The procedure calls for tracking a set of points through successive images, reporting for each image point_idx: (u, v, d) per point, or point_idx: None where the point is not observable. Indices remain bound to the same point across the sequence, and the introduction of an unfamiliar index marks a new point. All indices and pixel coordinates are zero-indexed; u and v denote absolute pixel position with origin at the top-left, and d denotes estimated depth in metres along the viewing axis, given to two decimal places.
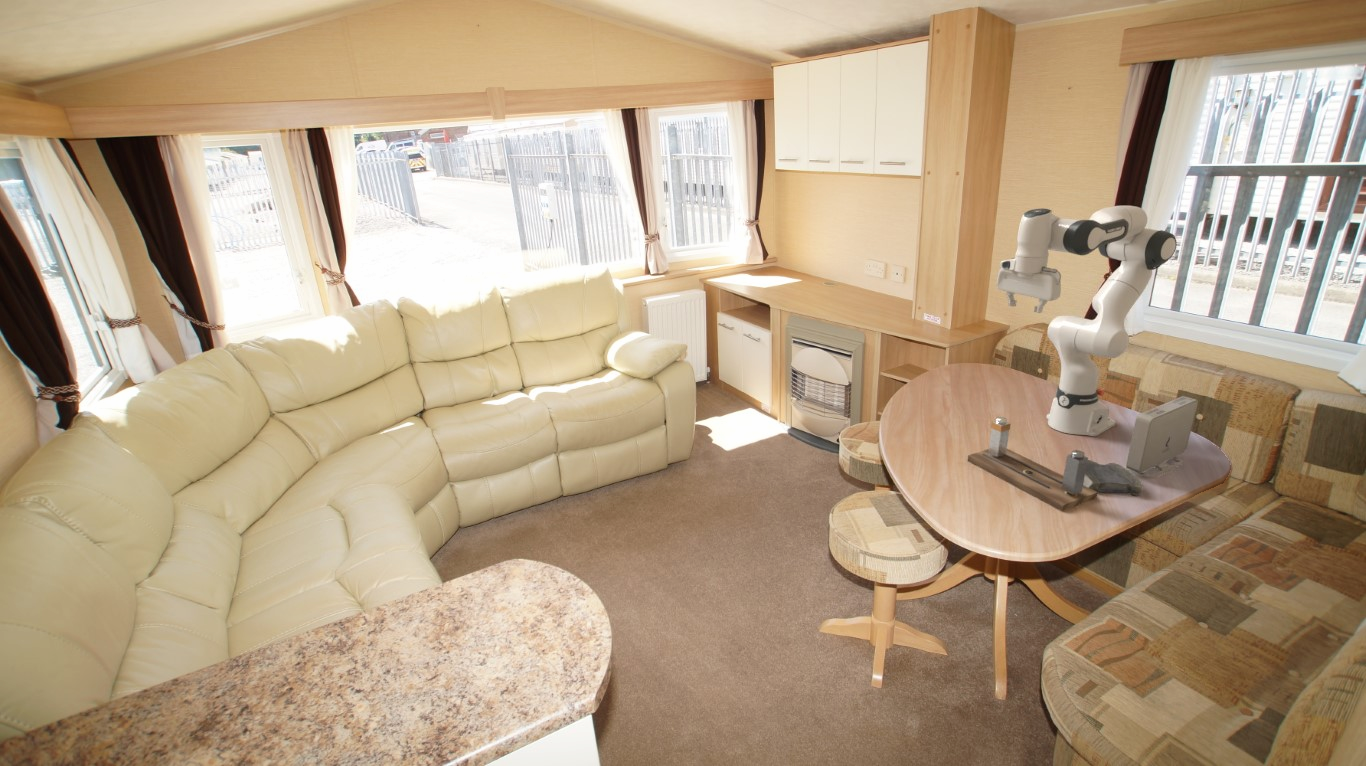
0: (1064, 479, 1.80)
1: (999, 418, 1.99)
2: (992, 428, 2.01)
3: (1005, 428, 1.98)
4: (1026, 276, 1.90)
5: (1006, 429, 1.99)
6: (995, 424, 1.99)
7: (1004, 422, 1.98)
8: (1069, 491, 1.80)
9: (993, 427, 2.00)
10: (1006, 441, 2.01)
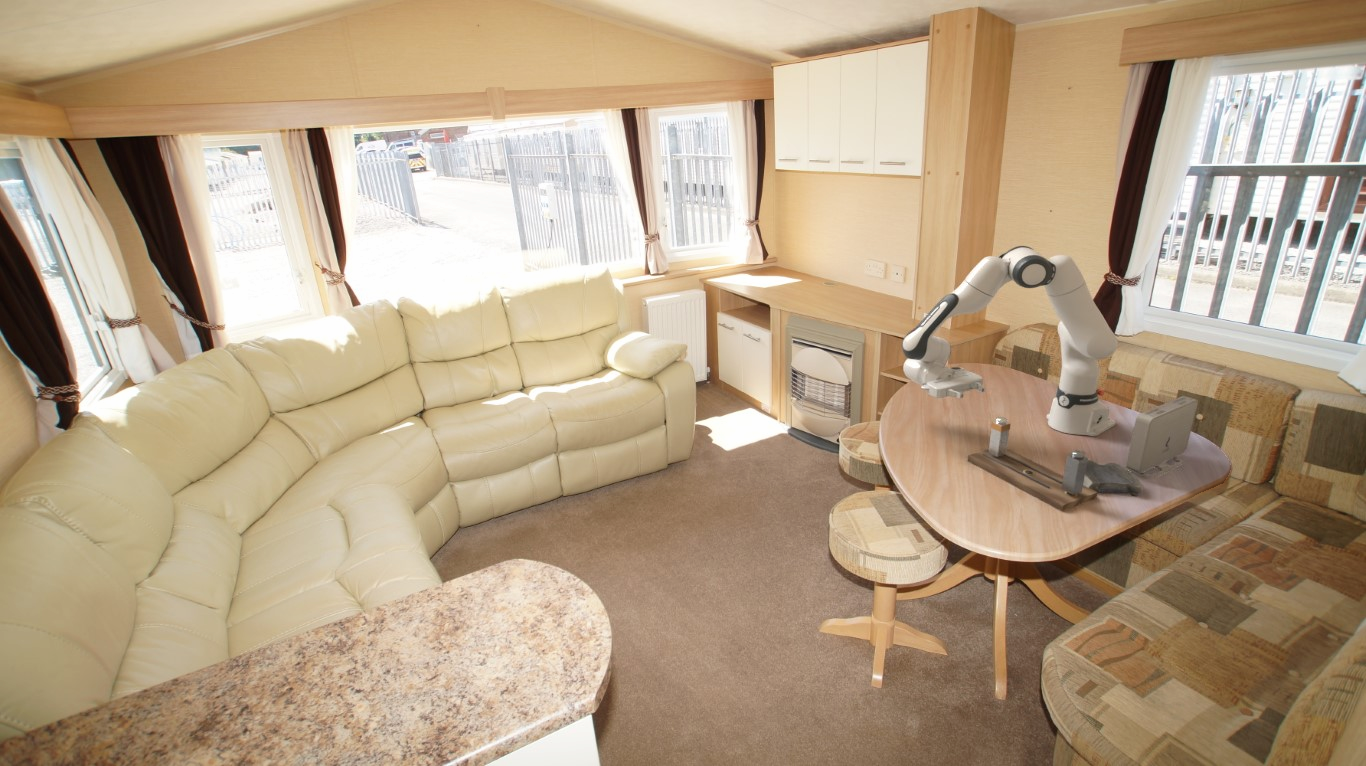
0: (1064, 479, 1.80)
1: (999, 418, 1.99)
2: (992, 428, 2.01)
3: (1005, 428, 1.98)
4: None
5: (1006, 429, 1.99)
6: (995, 424, 1.99)
7: (1004, 422, 1.98)
8: (1069, 491, 1.80)
9: (993, 427, 2.00)
10: (1006, 441, 2.01)
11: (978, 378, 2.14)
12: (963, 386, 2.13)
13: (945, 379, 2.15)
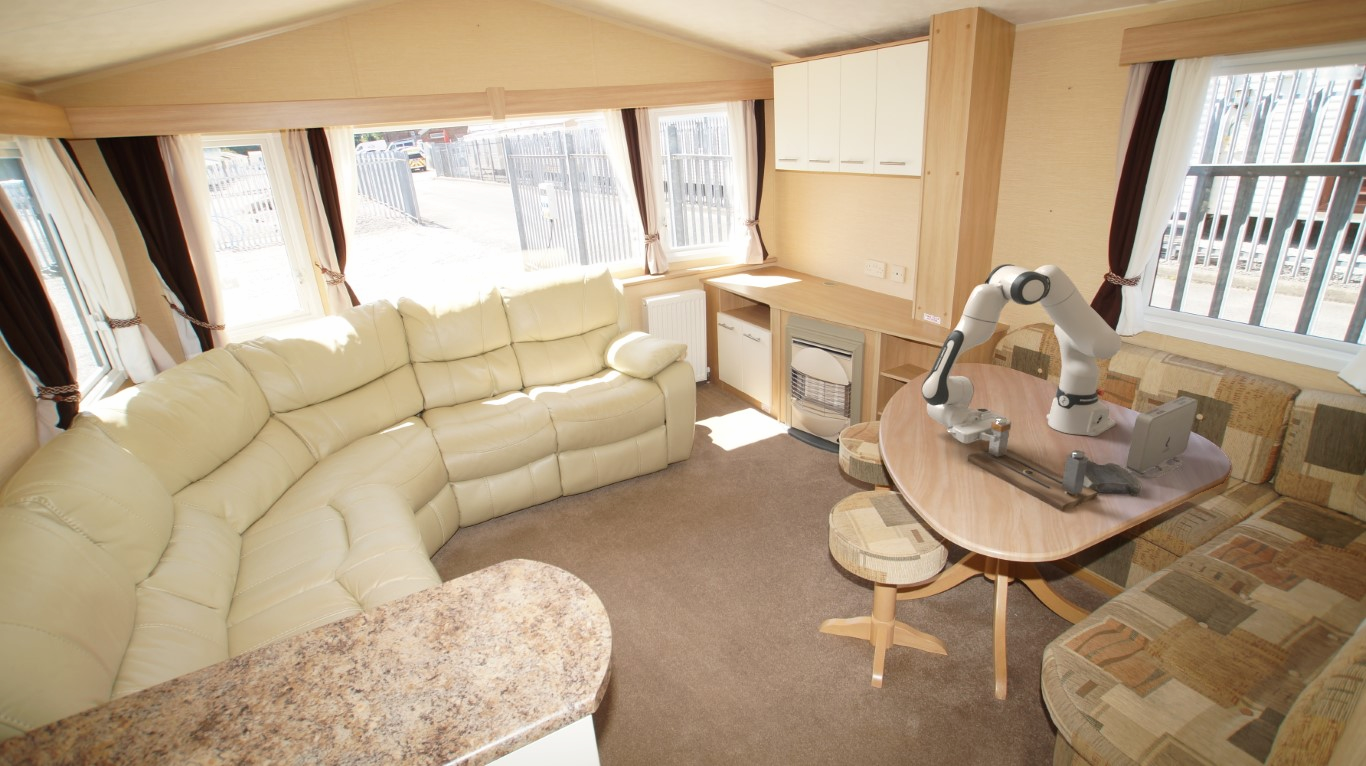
0: (1064, 479, 1.80)
1: (999, 418, 1.99)
2: (992, 428, 2.01)
3: (1005, 428, 1.98)
4: None
5: (1006, 429, 1.99)
6: (995, 424, 1.99)
7: (1004, 422, 1.98)
8: (1069, 491, 1.80)
9: (993, 427, 2.00)
10: (1006, 441, 2.01)
11: None
12: None
13: (972, 422, 2.08)
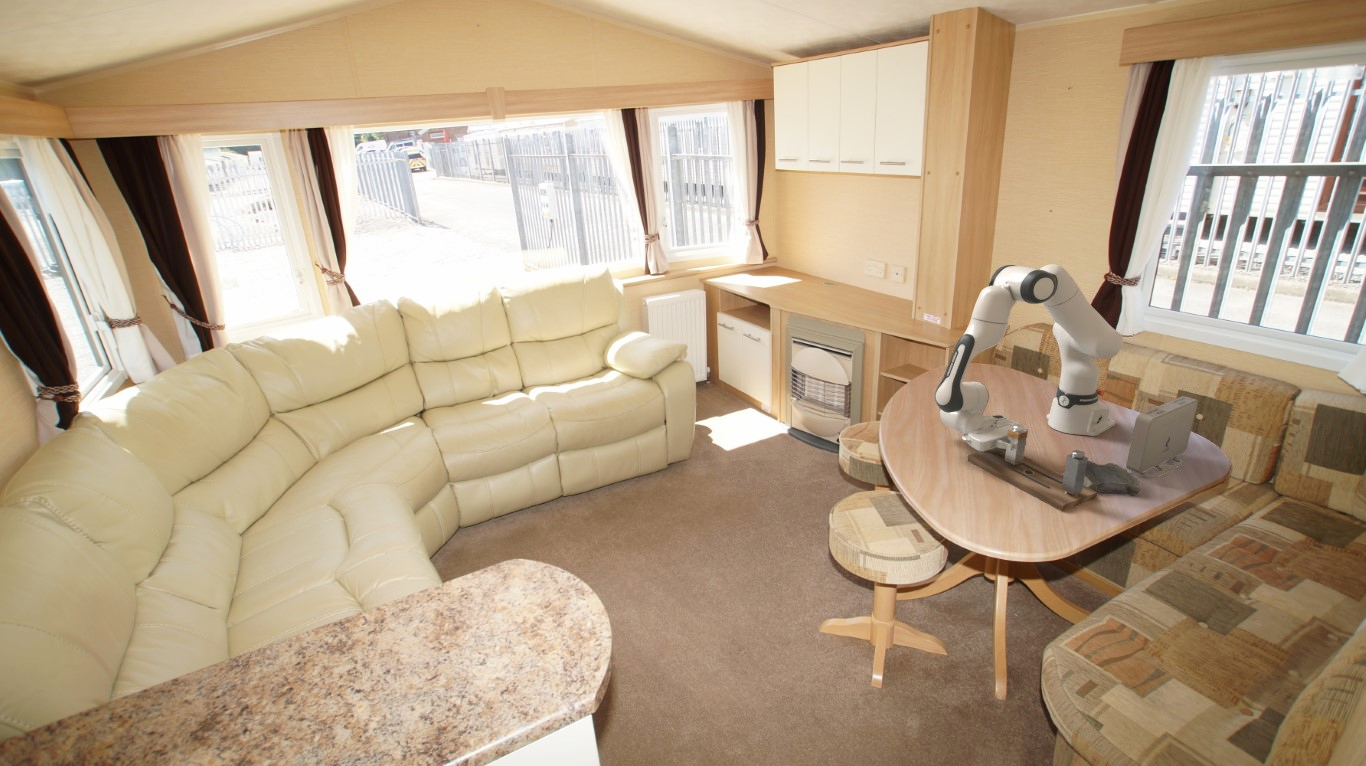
0: (1064, 479, 1.80)
1: (1016, 425, 1.94)
2: (1009, 436, 1.95)
3: (1022, 436, 1.93)
4: None
5: (1024, 437, 1.93)
6: (1012, 432, 1.94)
7: (1021, 430, 1.93)
8: (1069, 491, 1.80)
9: (1010, 435, 1.95)
10: (1023, 449, 1.95)
11: None
12: (1007, 437, 2.00)
13: (987, 429, 2.03)
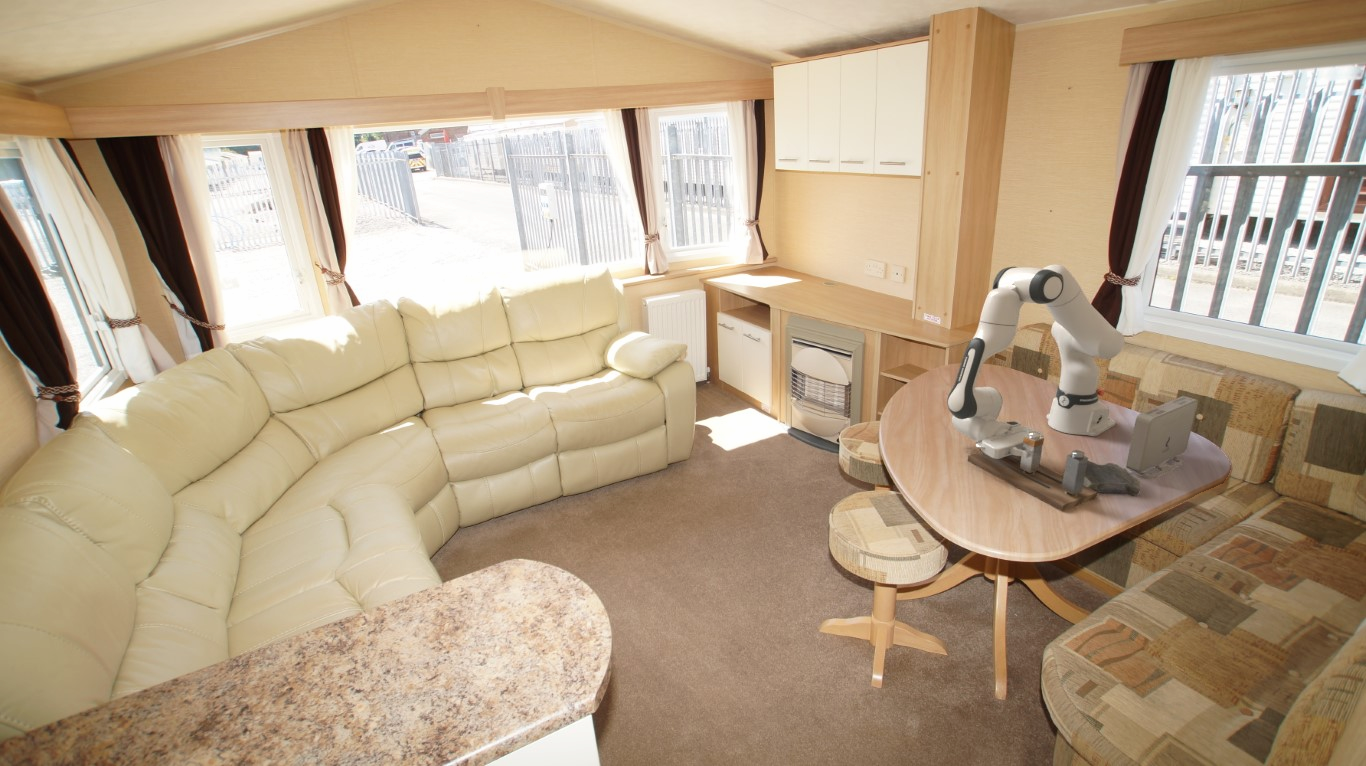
0: (1064, 479, 1.80)
1: (1032, 432, 1.89)
2: (1024, 443, 1.91)
3: (1038, 443, 1.88)
4: None
5: (1040, 444, 1.89)
6: (1028, 439, 1.89)
7: (1037, 437, 1.88)
8: (1069, 491, 1.80)
9: (1025, 442, 1.90)
10: (1039, 456, 1.90)
11: None
12: (1022, 444, 1.95)
13: (1002, 436, 1.98)
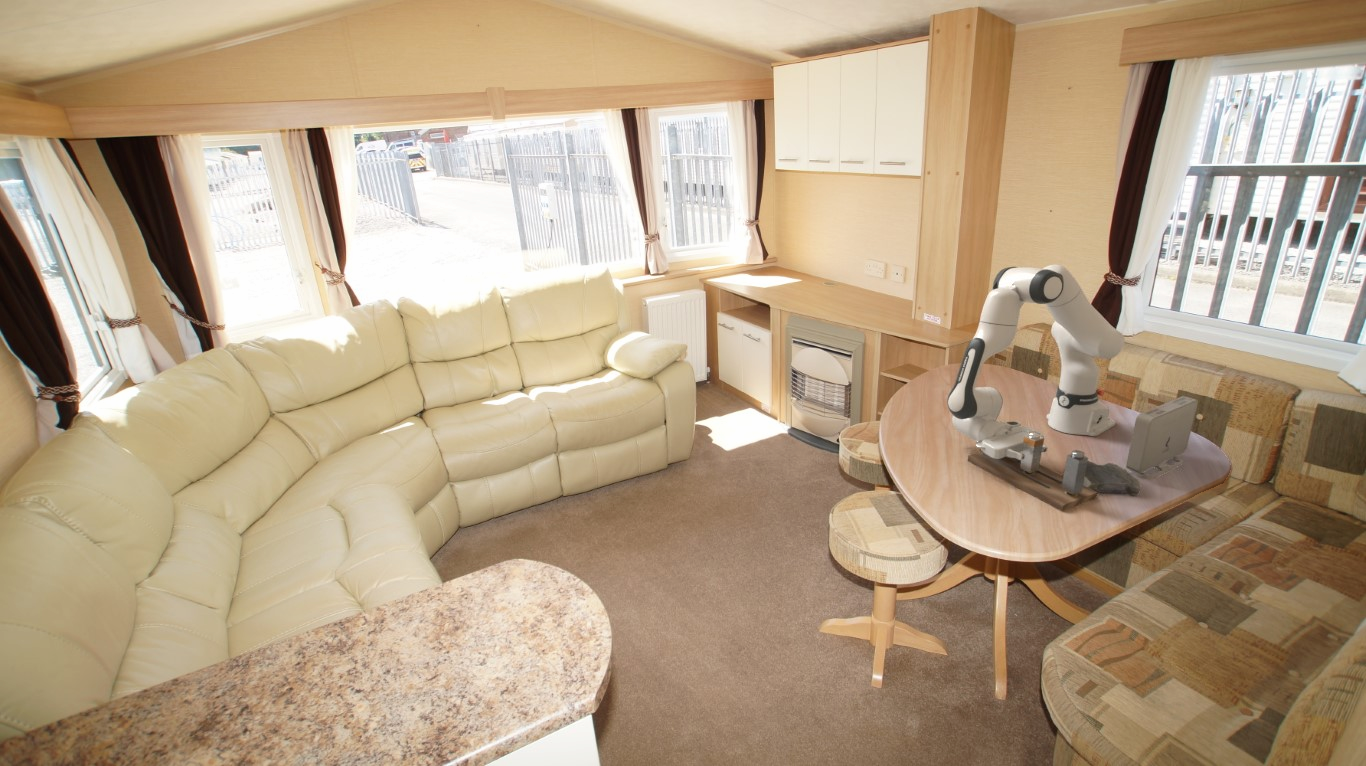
0: (1064, 479, 1.80)
1: (1032, 432, 1.89)
2: (1024, 443, 1.91)
3: (1038, 443, 1.88)
4: None
5: (1040, 444, 1.88)
6: (1028, 439, 1.89)
7: (1037, 437, 1.88)
8: (1069, 491, 1.80)
9: (1025, 442, 1.90)
10: (1039, 457, 1.90)
11: None
12: (1022, 444, 1.95)
13: (1002, 436, 1.98)
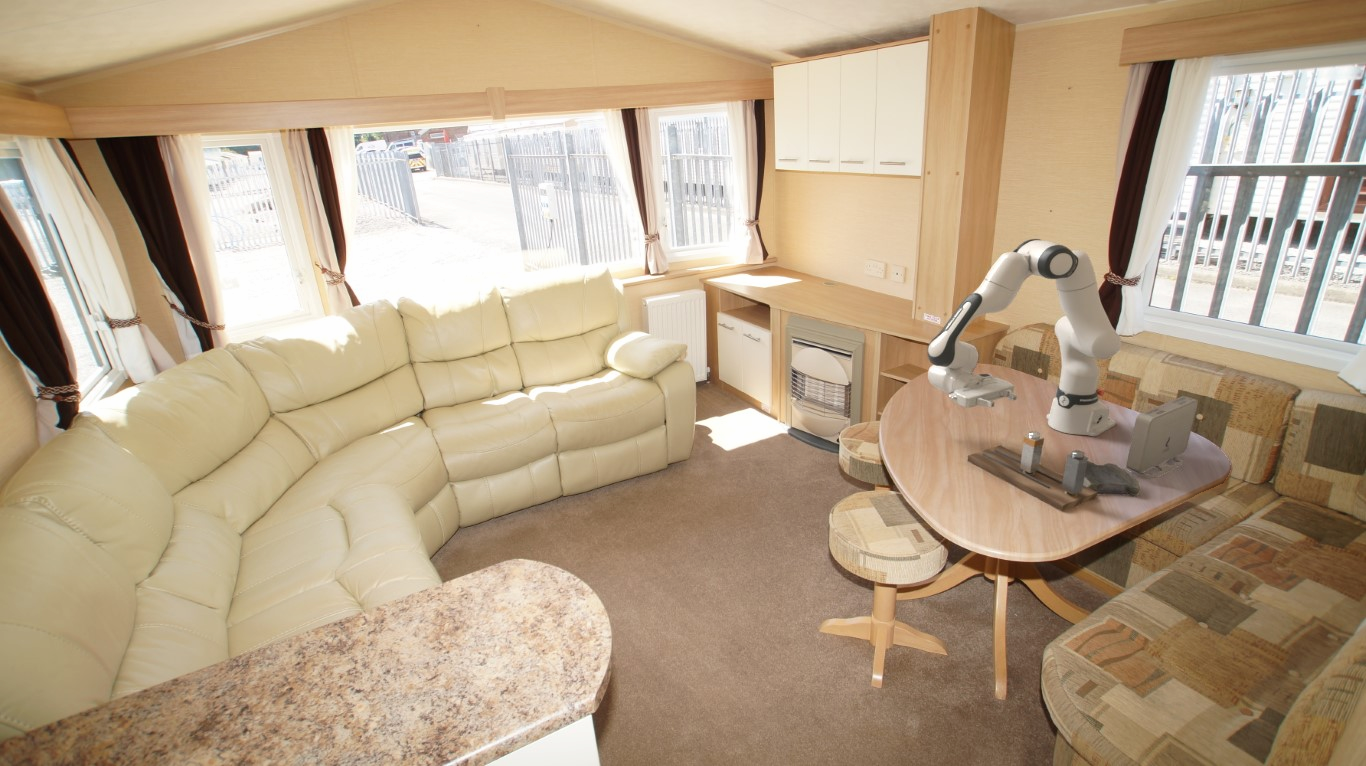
0: (1064, 479, 1.80)
1: (1032, 432, 1.89)
2: (1024, 443, 1.91)
3: (1038, 443, 1.88)
4: None
5: (1040, 444, 1.88)
6: (1028, 439, 1.89)
7: (1037, 437, 1.88)
8: (1069, 491, 1.80)
9: (1025, 442, 1.90)
10: (1039, 457, 1.90)
11: (1009, 386, 2.03)
12: (993, 394, 2.02)
13: (973, 387, 2.05)
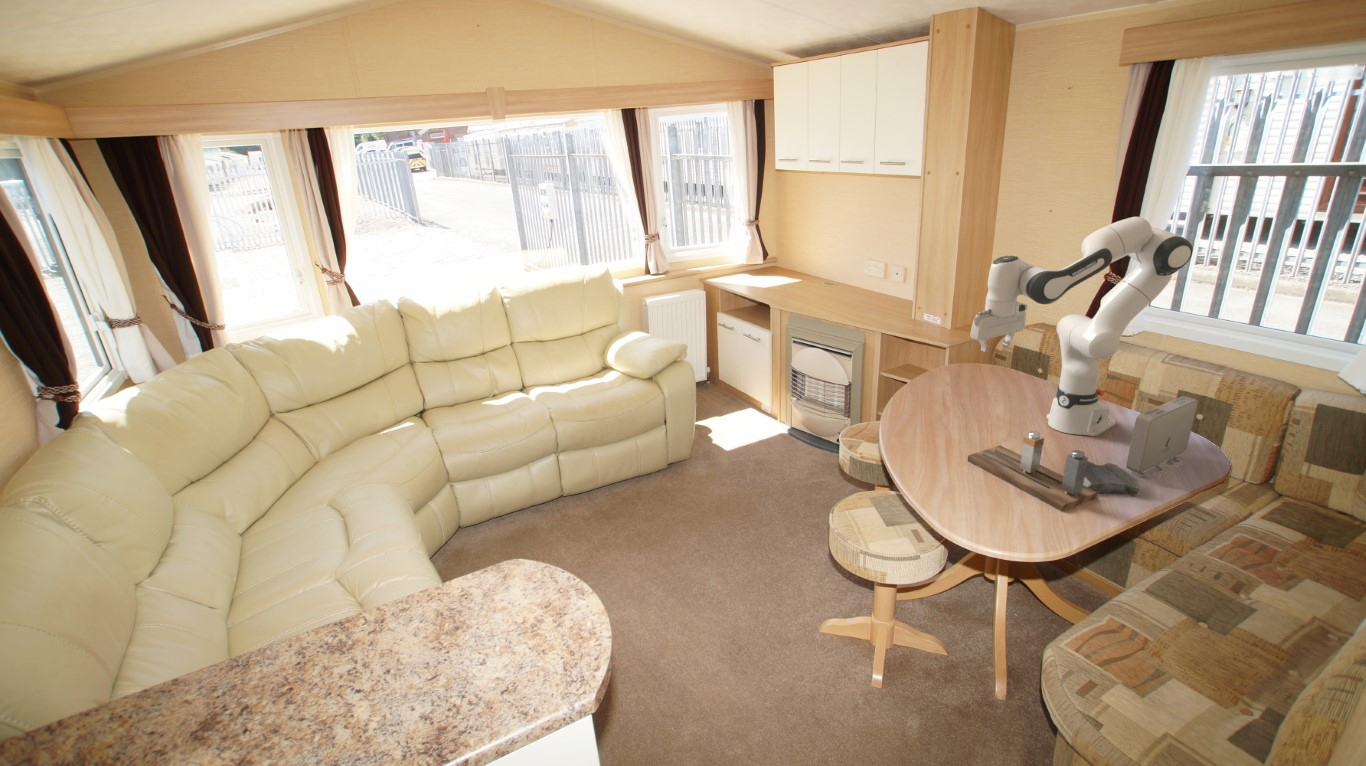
0: (1064, 479, 1.80)
1: (1032, 432, 1.89)
2: (1024, 443, 1.91)
3: (1038, 443, 1.88)
4: None
5: (1040, 444, 1.88)
6: (1028, 439, 1.89)
7: (1037, 437, 1.88)
8: (1069, 491, 1.80)
9: (1025, 442, 1.90)
10: (1039, 457, 1.90)
11: (1018, 331, 2.07)
12: None
13: (999, 320, 2.02)
